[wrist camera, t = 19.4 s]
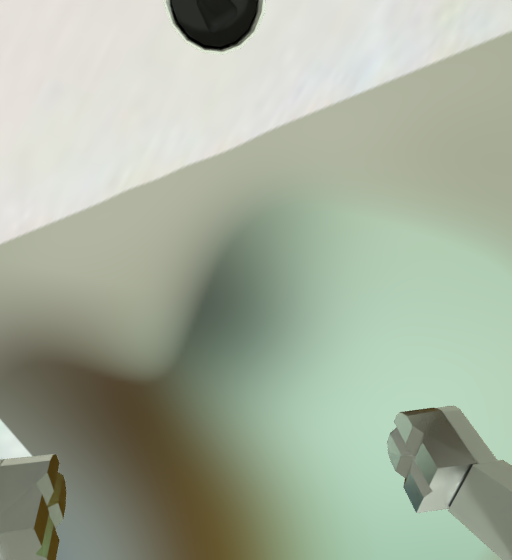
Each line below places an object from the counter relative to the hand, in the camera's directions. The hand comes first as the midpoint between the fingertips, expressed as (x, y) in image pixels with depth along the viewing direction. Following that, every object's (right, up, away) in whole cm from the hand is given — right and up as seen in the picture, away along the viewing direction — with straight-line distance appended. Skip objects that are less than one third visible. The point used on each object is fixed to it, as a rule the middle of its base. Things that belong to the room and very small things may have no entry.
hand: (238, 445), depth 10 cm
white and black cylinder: (-3, +27, +26) cm, 38 cm away
